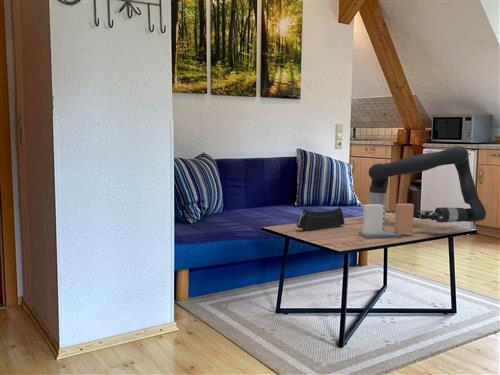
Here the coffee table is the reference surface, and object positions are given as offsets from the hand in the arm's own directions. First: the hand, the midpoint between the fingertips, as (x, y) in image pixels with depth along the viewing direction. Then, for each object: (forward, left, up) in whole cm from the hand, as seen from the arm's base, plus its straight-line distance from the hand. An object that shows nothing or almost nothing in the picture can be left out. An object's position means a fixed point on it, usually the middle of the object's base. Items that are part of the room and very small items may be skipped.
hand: (416, 215), depth 250 cm
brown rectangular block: (0, -6, -8) cm, 11 cm away
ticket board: (0, -19, -10) cm, 21 cm away
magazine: (-20, -42, -10) cm, 48 cm away
